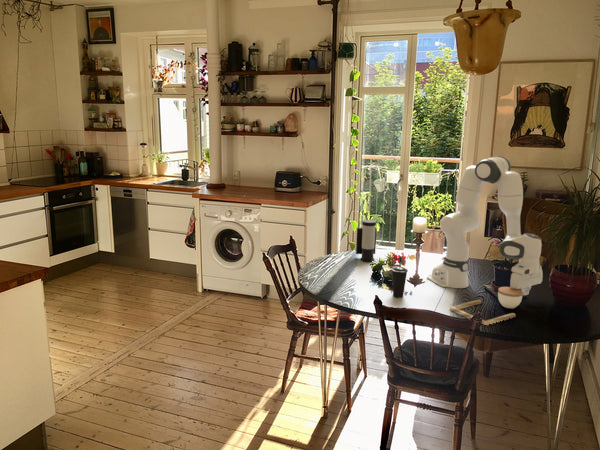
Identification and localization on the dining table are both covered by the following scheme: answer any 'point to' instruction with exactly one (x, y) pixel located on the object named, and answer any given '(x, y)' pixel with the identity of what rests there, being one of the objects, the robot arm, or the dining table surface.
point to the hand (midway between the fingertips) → (525, 294)
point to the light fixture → (366, 240)
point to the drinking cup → (399, 280)
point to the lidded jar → (509, 297)
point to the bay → (467, 315)
